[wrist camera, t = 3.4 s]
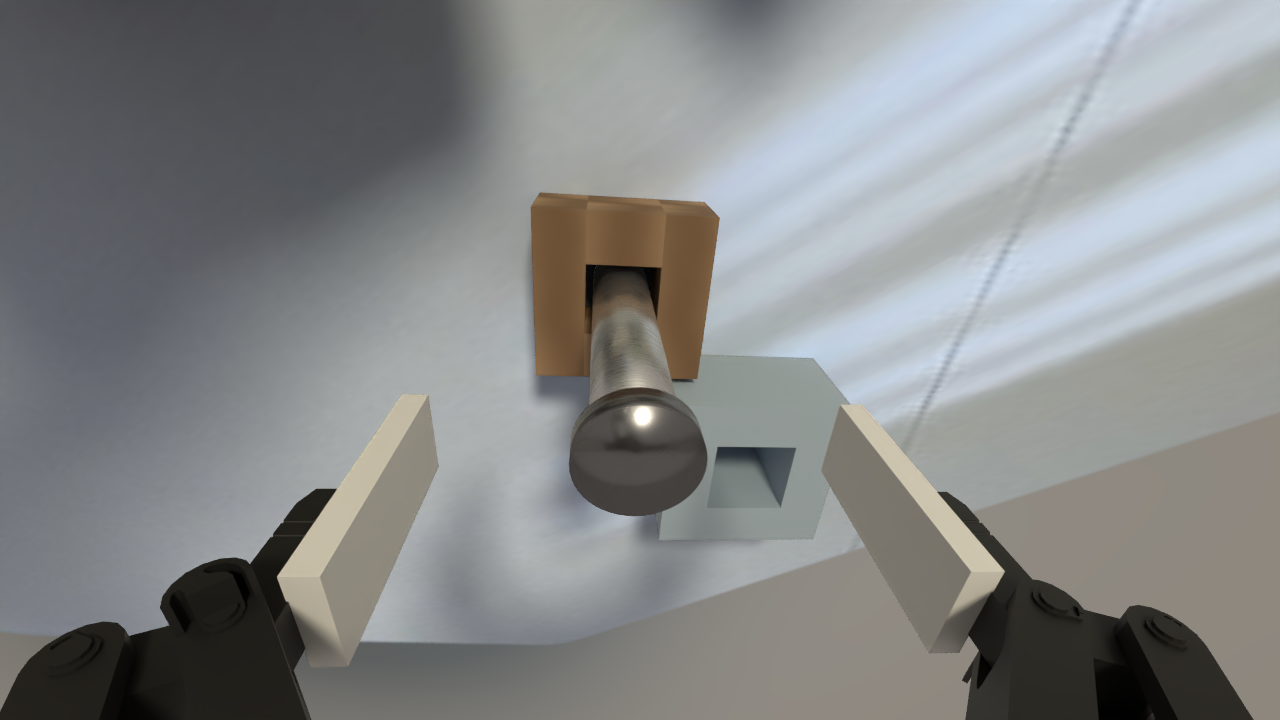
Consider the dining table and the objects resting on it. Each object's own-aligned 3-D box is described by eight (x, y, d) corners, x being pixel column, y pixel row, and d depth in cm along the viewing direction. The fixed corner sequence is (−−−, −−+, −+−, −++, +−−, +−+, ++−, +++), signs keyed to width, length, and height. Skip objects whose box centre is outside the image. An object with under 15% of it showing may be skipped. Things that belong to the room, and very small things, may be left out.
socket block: (650, 476, 37) (659, 540, 31) (662, 354, 32) (674, 405, 27) (783, 476, 38) (813, 539, 32) (813, 358, 33) (854, 408, 28)
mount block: (543, 343, 31) (536, 375, 28) (539, 192, 27) (530, 207, 23) (686, 347, 32) (697, 379, 28) (704, 202, 28) (719, 217, 24)
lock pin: (584, 307, 30) (568, 515, 15) (585, 241, 28) (569, 404, 13) (650, 309, 31) (698, 515, 16) (656, 244, 29) (716, 407, 14)
